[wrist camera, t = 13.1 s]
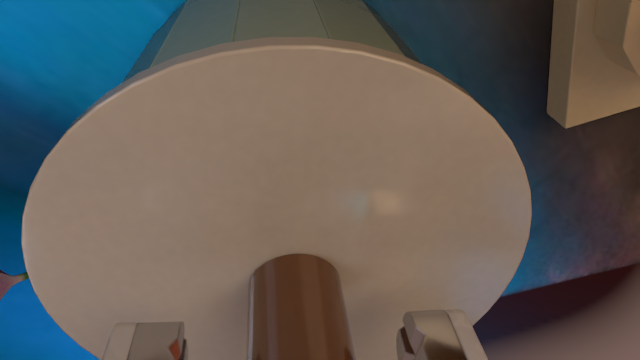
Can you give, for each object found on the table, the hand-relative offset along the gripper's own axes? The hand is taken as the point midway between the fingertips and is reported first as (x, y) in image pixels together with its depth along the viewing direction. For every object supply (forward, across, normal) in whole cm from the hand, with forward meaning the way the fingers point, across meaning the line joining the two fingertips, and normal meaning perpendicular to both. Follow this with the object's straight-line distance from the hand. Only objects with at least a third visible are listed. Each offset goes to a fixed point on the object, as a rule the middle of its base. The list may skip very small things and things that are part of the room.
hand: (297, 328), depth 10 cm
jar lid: (+2, 0, 0) cm, 2 cm away
